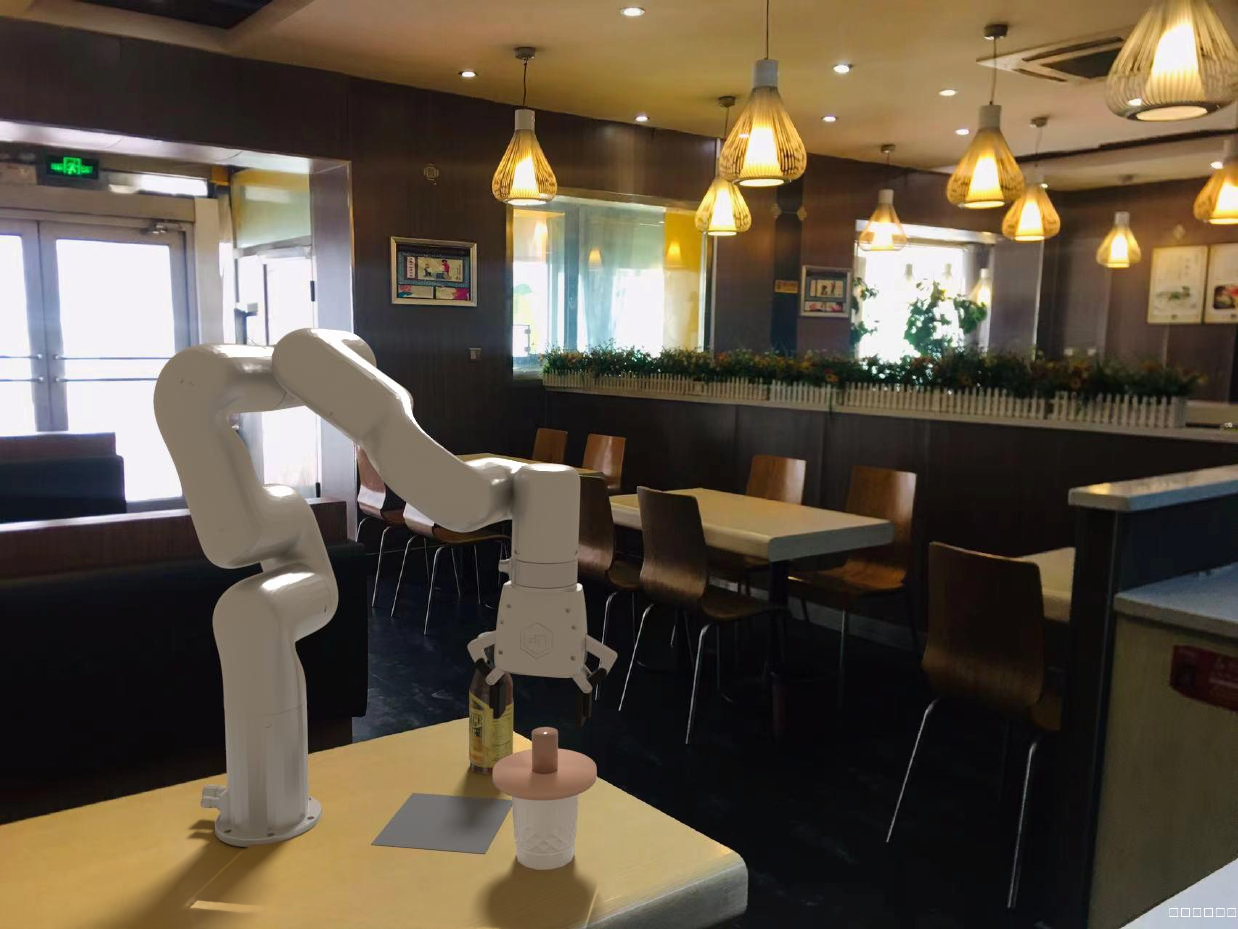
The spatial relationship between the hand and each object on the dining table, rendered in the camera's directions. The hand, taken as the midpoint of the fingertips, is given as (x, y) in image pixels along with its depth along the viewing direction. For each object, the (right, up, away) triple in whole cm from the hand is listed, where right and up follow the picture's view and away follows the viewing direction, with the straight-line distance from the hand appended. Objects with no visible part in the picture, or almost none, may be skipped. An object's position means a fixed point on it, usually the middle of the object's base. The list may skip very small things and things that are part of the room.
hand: (539, 718), depth 109 cm
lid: (+1, -7, +1) cm, 7 cm away
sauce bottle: (-9, -15, +26) cm, 31 cm away
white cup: (0, -17, +2) cm, 17 cm away
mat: (-13, -16, +9) cm, 22 cm away
